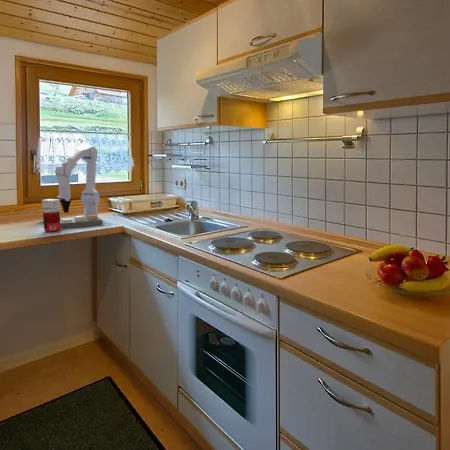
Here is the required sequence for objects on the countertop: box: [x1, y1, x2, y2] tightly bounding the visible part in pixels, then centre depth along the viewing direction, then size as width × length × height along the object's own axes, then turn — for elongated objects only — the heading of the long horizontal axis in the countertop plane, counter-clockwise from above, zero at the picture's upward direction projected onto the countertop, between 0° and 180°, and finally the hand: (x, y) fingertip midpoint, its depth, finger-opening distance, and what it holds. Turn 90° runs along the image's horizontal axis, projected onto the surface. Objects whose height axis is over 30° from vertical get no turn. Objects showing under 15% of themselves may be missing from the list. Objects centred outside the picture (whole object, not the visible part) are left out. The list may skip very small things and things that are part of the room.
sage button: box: [61, 218, 72, 222], centre depth 219 cm, size 4×4×3 cm
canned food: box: [42, 209, 61, 234], centre depth 204 cm, size 8×8×11 cm
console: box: [60, 217, 104, 230], centre depth 222 cm, size 12×22×3 cm, turn 122°
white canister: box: [41, 198, 62, 222], centre depth 237 cm, size 7×7×13 cm
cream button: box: [74, 215, 85, 221], centre depth 222 cm, size 4×4×3 cm
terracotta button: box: [88, 214, 98, 220], centre depth 226 cm, size 4×4×3 cm
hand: (66, 212), depth 218 cm, fingers closed
